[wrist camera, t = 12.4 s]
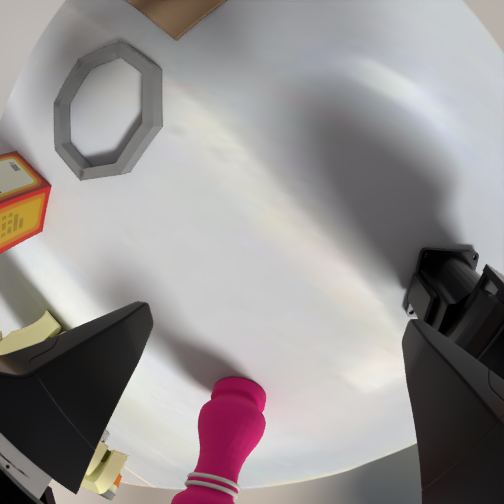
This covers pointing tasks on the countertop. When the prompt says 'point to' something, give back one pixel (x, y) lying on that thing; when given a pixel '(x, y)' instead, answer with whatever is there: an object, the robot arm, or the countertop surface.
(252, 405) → the pepper mill
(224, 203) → the countertop surface
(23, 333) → the slatted curved stool
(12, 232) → the baking soda box
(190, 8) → the pad
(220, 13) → the countertop surface
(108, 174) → the octagonal ring
